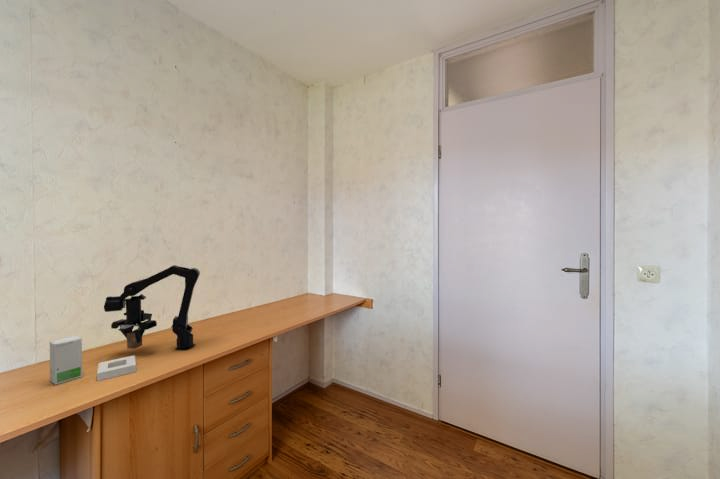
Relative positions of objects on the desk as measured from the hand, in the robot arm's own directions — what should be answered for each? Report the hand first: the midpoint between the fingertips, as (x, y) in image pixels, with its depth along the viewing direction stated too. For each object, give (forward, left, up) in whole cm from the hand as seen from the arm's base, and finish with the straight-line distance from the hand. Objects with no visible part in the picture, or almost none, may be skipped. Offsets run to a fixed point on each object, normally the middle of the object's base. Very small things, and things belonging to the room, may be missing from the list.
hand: (134, 342), depth 141 cm
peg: (0, 0, -2) cm, 2 cm away
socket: (-7, +16, -6) cm, 18 cm away
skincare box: (+7, +24, -6) cm, 26 cm away
